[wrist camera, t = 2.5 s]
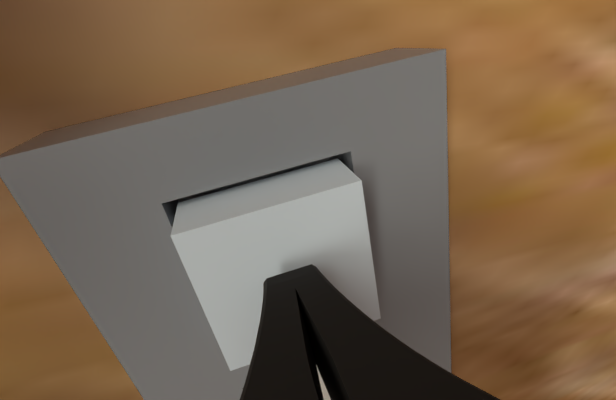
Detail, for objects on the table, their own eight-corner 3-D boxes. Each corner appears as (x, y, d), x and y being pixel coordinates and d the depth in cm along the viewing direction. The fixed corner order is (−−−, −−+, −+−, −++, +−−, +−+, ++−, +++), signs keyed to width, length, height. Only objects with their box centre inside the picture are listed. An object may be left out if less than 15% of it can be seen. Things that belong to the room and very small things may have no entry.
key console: (257, 521, 22) (263, 585, 20) (44, 132, 11) (-11, 160, 8) (426, 451, 24) (453, 501, 21) (396, 48, 12) (445, 48, 10)
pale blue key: (228, 324, 12) (230, 371, 11) (177, 202, 10) (170, 235, 8) (358, 281, 13) (380, 318, 11) (337, 158, 11) (361, 180, 9)
